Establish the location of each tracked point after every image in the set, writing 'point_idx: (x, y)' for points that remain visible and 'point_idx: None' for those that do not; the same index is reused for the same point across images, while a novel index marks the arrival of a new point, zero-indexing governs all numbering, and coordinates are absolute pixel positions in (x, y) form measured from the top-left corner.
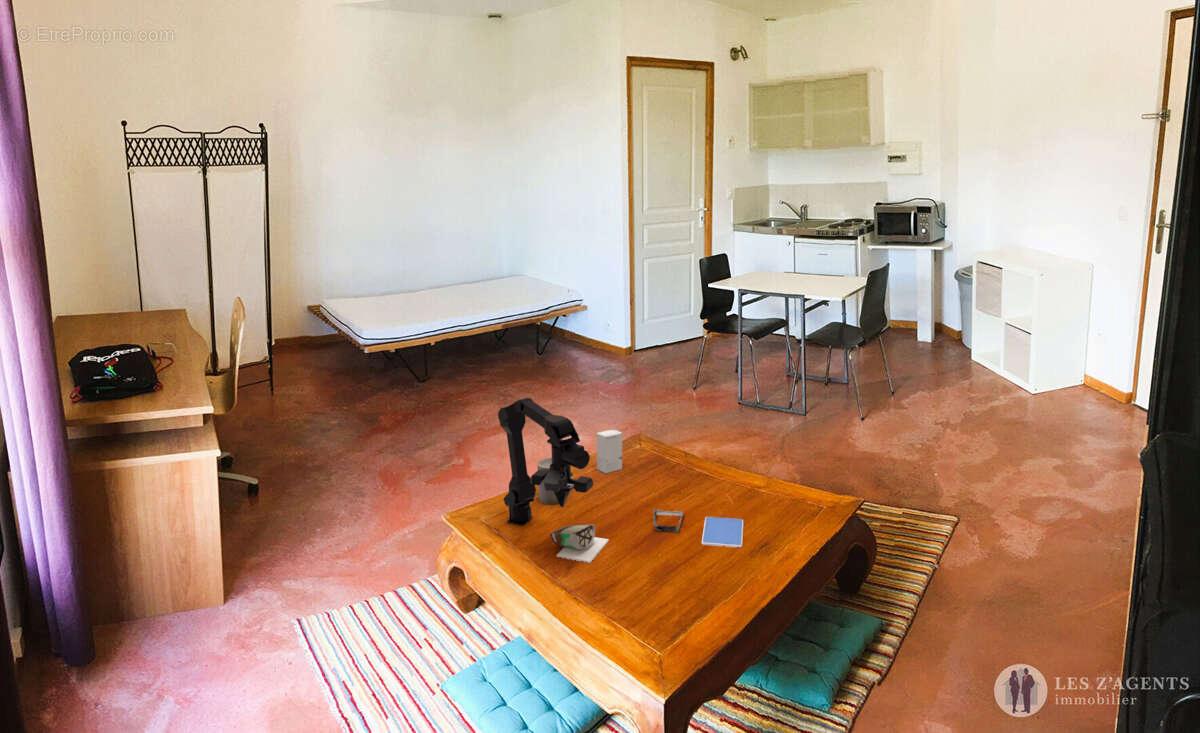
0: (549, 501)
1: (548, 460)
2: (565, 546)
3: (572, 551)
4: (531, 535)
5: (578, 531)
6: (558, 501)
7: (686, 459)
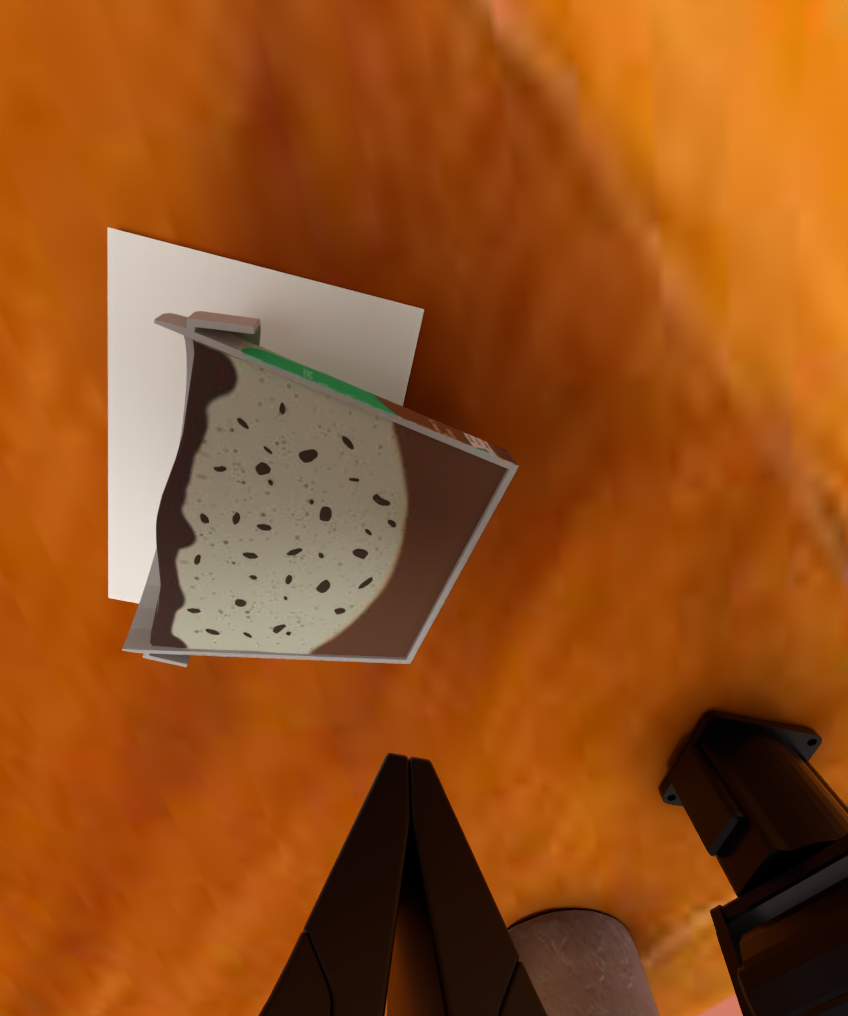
0: (579, 929)
1: None
2: None
3: None
4: (652, 604)
5: (191, 457)
6: (468, 855)
7: None
